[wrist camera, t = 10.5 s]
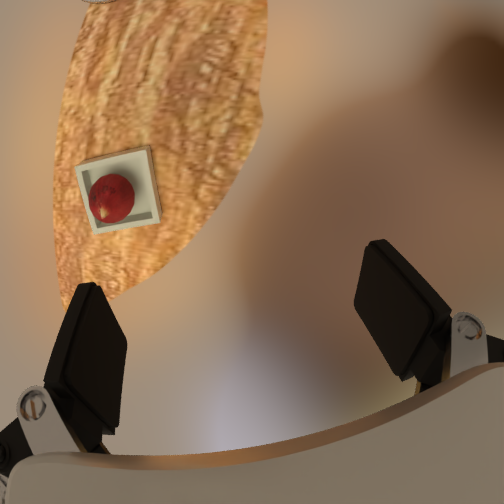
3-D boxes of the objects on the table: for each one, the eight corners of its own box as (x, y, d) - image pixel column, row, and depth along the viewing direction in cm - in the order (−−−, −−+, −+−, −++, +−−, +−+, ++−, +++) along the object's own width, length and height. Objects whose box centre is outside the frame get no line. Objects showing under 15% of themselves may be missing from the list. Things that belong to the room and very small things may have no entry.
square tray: (82, 161, 30) (74, 166, 28) (149, 145, 32) (145, 149, 29) (99, 225, 36) (93, 234, 33) (162, 213, 37) (160, 222, 34)
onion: (90, 187, 32) (68, 212, 25) (119, 157, 31) (99, 176, 24) (119, 216, 35) (104, 246, 28) (148, 189, 34) (137, 215, 27)
